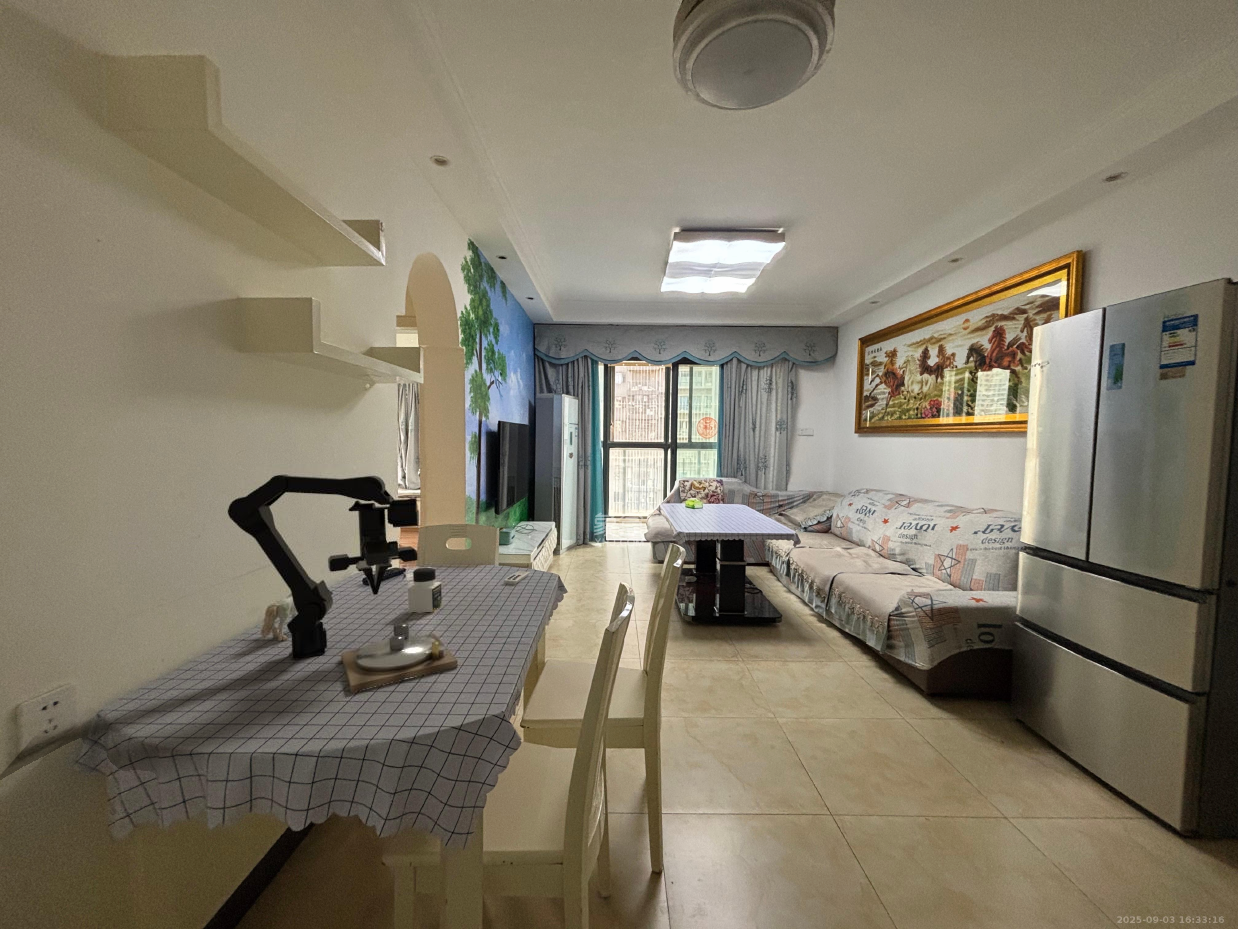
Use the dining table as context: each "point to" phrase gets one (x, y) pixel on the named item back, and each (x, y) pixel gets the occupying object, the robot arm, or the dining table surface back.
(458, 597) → the dining table surface
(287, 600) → the unicorn figurine
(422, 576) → the medicine bottle
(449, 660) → the base board
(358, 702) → the dining table surface
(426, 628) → the dining table surface
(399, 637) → the post
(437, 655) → the dowel
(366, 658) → the flange plate
